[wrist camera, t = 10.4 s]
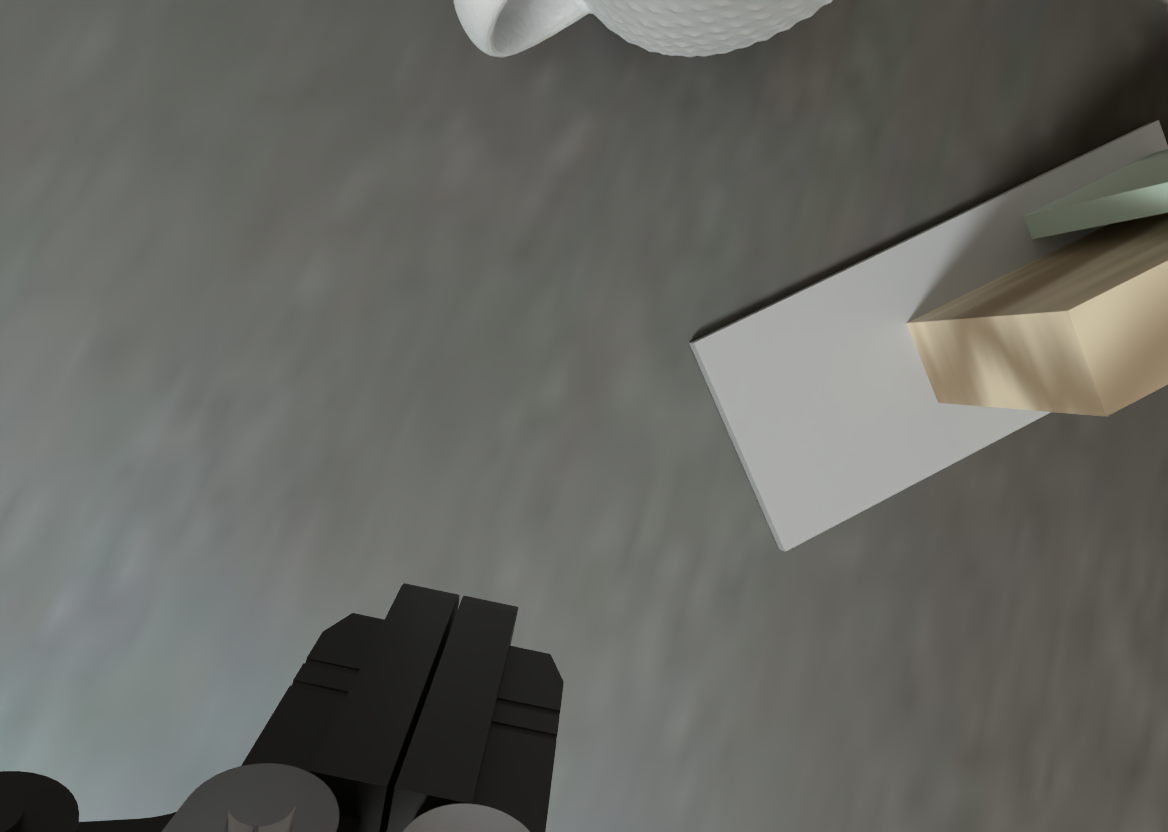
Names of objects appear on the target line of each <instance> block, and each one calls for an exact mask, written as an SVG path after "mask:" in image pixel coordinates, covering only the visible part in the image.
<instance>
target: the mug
mask: <svg viewBox="0 0 1168 832" xmlns="http://www.w3.org/2000/svg"><path fill="white" fill-rule="evenodd" d="M832 1H833V0H454V5H455V9H456V12H457V15H458V18H459V20H460V23H461V25H462V26H463V28H464V30H465V32H466V34H467V35H468V37H469V38H470V39H471V41H472V42H473V43H474V44H475V45H476V46H477V47H478V48H479V49H480V50H482V51H483V52H485V53H486V54H488V55H491V56H496V57H506V56H510V55H514V54H517V53H519V52H522V51H524V50H526V49H528V48H530V47H533V46H535V45H536V44H538V43H540V42H542V41H544V40H546V39H547V38H549V37H551V36H553V35H555V34H556V33H558V32H559V31H561V30H563V29H564V28H566V27H568V26H569V25H571V24H573V23H574V22H576V21H578V20H579V19H581V18H582V17H584V16H586V15H587V14H594V15H595V16H596V17H597V18H598V19H599V20H600V21H602V23H603V24H604V25H605V26H606V27H607V28H608V29H609V30H611V31H613V32H614V33H616V34H618V35H619V36H621V37H622V38H623V39H624V40H625V41H627V42H628V43H632V44H636V45H638V46H640V47H642V48H644V49H646V50H647V51H649V52H659V53H661V54H663V55H670V56H676V55H678V56H686V57H694V56H703V57H705V56H709V55H714V54H725V53H728V52H730V51H733V50H735V49H739V48H746V47H749V46H751V45H752V44H754V43H755V42H759V41H766V40H768V39H769V38H771V37H772V36H774V35H775V34H776V33H778V32H782V31H785V30H789V29H790V28H791V27H792V26H793V25H795V24H796V23H797V22H799V21H801V20H804V19H806V18H809V17H811V16H813V15H814V14H815V13H816V12H817V11H818V9H819V8H821V7H822V6H824V5H826V4H829V3H831V2H832Z"/></svg>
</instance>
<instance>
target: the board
mask: <svg viewBox="0 0 1168 832" xmlns="http://www.w3.org/2000/svg"><path fill="white" fill-rule="evenodd" d="M1166 149H1168V145H1167V142H1166V139H1165V136H1164V133H1163V131H1162V128H1161V125H1160V122H1159V120H1158V121H1154V122H1151V123H1148V124H1146V125H1144V126H1142V127H1140V128H1137V129H1135V130H1133V131H1131V132H1129V133H1127V134H1125V135H1123V136H1121V137H1119V138H1117V139H1115V140H1112V141H1110V142H1108V143H1106V144H1104V145H1102V146H1100V147H1098V148H1096V149H1094V150H1092V151H1089V152H1087V153H1085V154H1083V155H1081V156H1079V157H1077V158H1075V159H1073V160H1071V161H1069V162H1066V163H1064V164H1062V165H1060V166H1058V167H1056V168H1054V169H1052V170H1050V171H1048V172H1046V173H1044V174H1041V175H1039V176H1037V177H1035V178H1033V179H1031V180H1029V181H1027V182H1025V183H1023V184H1021V185H1018V186H1016V187H1014V188H1012V189H1010V190H1008V191H1006V192H1004V193H1002V194H1000V195H998V196H995V197H993V198H991V199H989V200H987V201H985V202H983V203H981V204H979V205H977V206H975V207H973V208H970V209H968V210H966V211H964V212H962V213H960V214H958V215H956V216H954V217H952V218H950V219H947V220H945V221H943V222H941V223H939V224H937V225H935V226H933V227H931V228H929V229H927V230H924V231H922V232H920V233H918V234H916V235H914V236H912V237H910V238H908V239H906V240H904V241H902V242H899V243H897V244H895V245H893V246H891V247H889V248H887V249H885V250H883V251H881V252H879V253H876V254H874V255H872V256H870V257H868V258H866V259H864V260H862V261H860V262H858V263H856V264H853V265H851V266H849V267H847V268H845V269H843V270H841V271H839V272H837V273H835V274H833V275H831V276H828V277H826V278H824V279H822V280H820V281H818V282H816V283H814V284H812V285H810V286H808V287H805V288H803V289H801V290H799V291H797V292H795V293H793V294H791V295H789V296H787V297H785V298H782V299H780V300H778V301H776V302H774V303H772V304H770V305H768V306H766V307H764V308H762V309H760V310H757V311H755V312H753V313H751V314H749V315H747V316H745V317H743V318H741V319H739V320H737V321H734V322H732V323H730V324H728V325H726V326H724V327H722V328H720V329H718V330H716V331H714V332H711V333H709V334H707V335H705V336H703V337H701V338H699V339H697V340H695V341H693V342H691V343H689V344H690V346H691V348H692V351H693V353H694V355H695V357H696V360H697V362H698V364H699V367H700V369H701V371H702V373H703V376H704V378H705V380H706V383H707V385H708V387H709V389H710V392H711V394H712V396H713V399H714V401H715V403H716V405H717V408H718V410H719V412H720V415H721V417H722V419H723V421H724V424H725V426H726V428H727V431H728V433H729V435H730V437H731V440H732V442H733V444H734V447H735V449H736V451H737V453H738V456H739V458H740V460H741V463H742V465H743V467H744V469H745V472H746V474H747V476H748V479H749V481H750V483H751V486H752V488H753V490H754V492H755V495H756V497H757V499H758V502H759V504H760V506H761V508H762V511H763V513H764V515H765V518H766V520H767V522H768V524H769V527H770V529H771V531H772V534H773V536H774V538H775V540H776V543H777V545H778V547H779V549H781V550H783V551H785V552H786V551H787V550H789V549H791V548H793V547H795V546H797V545H799V544H801V543H803V542H805V541H807V540H808V539H810V538H812V537H814V536H816V535H818V534H820V533H822V532H824V531H826V530H827V529H829V528H831V527H833V526H835V525H837V524H839V523H841V522H843V521H845V520H846V519H848V518H850V517H852V516H854V515H856V514H858V513H860V512H862V511H864V510H866V509H867V508H869V507H871V506H873V505H875V504H877V503H879V502H881V501H883V500H885V499H886V498H888V497H890V496H892V495H894V494H896V493H898V492H900V491H902V490H904V489H906V488H907V487H909V486H911V485H913V484H915V483H917V482H919V481H921V480H923V479H925V478H926V477H928V476H930V475H932V474H934V473H936V472H938V471H940V470H942V469H944V468H946V467H947V466H949V465H951V464H953V463H955V462H957V461H959V460H961V459H963V458H965V457H966V456H968V455H970V454H972V453H974V452H976V451H978V450H980V449H982V448H984V447H986V446H987V445H989V444H991V443H993V442H995V441H997V440H999V439H1001V438H1003V437H1005V436H1006V435H1008V434H1010V433H1012V432H1014V431H1016V430H1018V429H1020V428H1022V427H1024V426H1025V425H1027V424H1029V423H1031V422H1033V421H1035V420H1037V419H1039V418H1041V417H1043V416H1045V415H1046V414H1048V413H1050V412H1045V411H1033V410H1020V409H1008V408H996V407H983V406H971V405H958V404H946V403H938V401H937V399H936V396H935V394H934V391H933V389H932V386H931V384H930V381H929V378H928V376H927V373H926V371H925V368H924V366H923V363H922V361H921V358H920V356H919V353H918V351H917V348H916V346H915V343H914V341H913V338H912V336H911V333H910V331H909V328H908V325H907V323H908V322H910V321H912V320H914V319H916V318H918V317H920V316H922V315H924V314H926V313H928V312H930V311H932V310H934V309H936V308H938V307H940V306H943V305H945V304H947V303H949V302H951V301H953V300H955V299H957V298H959V297H961V296H963V295H965V294H967V293H969V292H971V291H973V290H975V289H977V288H979V287H981V286H983V285H985V284H987V283H990V282H992V281H994V280H996V279H998V278H1000V277H1002V276H1004V275H1006V274H1008V273H1010V272H1012V271H1014V270H1016V269H1018V268H1020V267H1022V266H1024V265H1026V264H1028V263H1030V262H1032V261H1034V260H1036V259H1039V258H1041V257H1043V256H1045V255H1047V254H1049V253H1051V252H1053V251H1055V250H1057V249H1059V248H1061V247H1063V246H1065V245H1067V244H1069V243H1071V242H1073V241H1075V240H1077V239H1079V238H1081V237H1083V236H1086V235H1088V234H1090V233H1092V232H1094V231H1096V230H1098V229H1100V228H1102V227H1104V226H1106V225H1102V226H1097V227H1092V228H1087V229H1082V230H1077V231H1072V232H1066V233H1061V234H1056V235H1051V236H1046V237H1041V238H1036V239H1032V238H1031V235H1030V233H1029V230H1028V227H1027V225H1026V222H1025V219H1024V217H1023V216H1025V215H1027V214H1029V213H1031V212H1033V211H1035V210H1037V209H1040V208H1042V207H1044V206H1046V205H1048V204H1050V203H1052V202H1054V201H1056V200H1058V199H1060V198H1062V197H1064V196H1066V195H1068V194H1070V193H1073V192H1075V191H1077V190H1079V189H1081V188H1083V187H1085V186H1087V185H1089V184H1091V183H1093V182H1095V181H1097V180H1099V179H1101V178H1103V177H1106V176H1108V175H1110V174H1112V173H1114V172H1116V171H1118V170H1120V169H1122V168H1124V167H1126V166H1128V165H1130V164H1132V163H1134V162H1136V161H1138V160H1141V159H1143V158H1145V157H1147V156H1149V155H1151V154H1153V153H1155V152H1159V151H1162V150H1166ZM1107 225H1108V224H1107Z"/></svg>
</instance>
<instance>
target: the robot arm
mask: <svg viewBox="0 0 1168 832" xmlns="http://www.w3.org/2000/svg"><path fill="white" fill-rule="evenodd" d="M458 605H459V595H457V594H453V593H448V592H443V591H438V590H434V589H429V588H424V587H419V586H415V585H410V584H405V583H404V584H403V585H402V586H401V588H400V590H399V592H398V594H397V596H396V598H395V600H394V602H393V604H392V606H391V608H390V610H389V612H388V614H387V616H386V618H385V620H383V619H379V618H374V617H369V616H364V615H359V614H355V613H352V614H350V615H349V616H347V617H346V618H344V619H342V620H341V621H339V622H338V623H336V624H335V625H333V626H331V627H330V628H328V629H327V630H325V631H323V632H322V634H321V636H320V637H319V639H318V641H317V642H316V644H315V645H314V647H313V649H312V650H311V652H310V654H309V655H308V657H307V660H306V663H305V664H303V665H302V667H301V668H300V670H299V672H298V673H297V675H296V677H295V678H294V680H293V684H292V686H290V687H289V688H288V690H287V691H286V693H285V695H284V696H283V698H282V700H281V701H280V703H279V705H278V706H277V708H276V710H275V711H274V713H273V715H272V716H271V718H270V719H269V721H268V723H267V724H266V726H265V728H264V729H263V731H262V733H261V734H260V736H259V738H258V739H257V741H256V742H255V744H254V746H253V747H252V749H251V751H250V752H249V754H248V756H247V757H246V759H245V761H244V762H243V764H242V765H241V766H240V767H236V768H233V769H229V770H227V771H225V772H222V773H220V774H217V775H216V776H214V777H212V778H210V779H209V780H207V781H205V782H204V783H203V784H202V785H200V786H199V787H198V788H197V789H196V790H195V791H194V792H193V793H192V794H191V795H190V796H189V797H188V798H187V800H186V801H185V802H184V803H183V805H182V806H181V807H180V809H179V810H178V811H177V812H175V813H172V814H167V815H163V816H158V817H152V818H142V819H128V820H110V821H92V822H79V810H78V805H77V802H76V800H75V798H74V796H73V794H72V793H71V792H70V791H69V790H68V789H67V788H66V787H65V786H64V785H62V784H61V783H59V782H58V781H56V780H53V779H51V778H49V777H47V776H43V775H39V774H35V773H29V772H20V771H3V772H0V832H545V829H546V821H547V813H548V805H549V797H550V789H551V780H552V772H553V764H554V756H555V748H556V737H557V732H558V723H559V713H560V707H561V699H562V691H563V683H564V682H563V680H562V678H561V676H560V673H559V671H558V669H557V667H556V665H555V663H554V661H553V659H552V657H551V655H550V654H547V653H542V652H537V651H533V650H528V649H523V648H518V647H513V646H510V645H511V640H512V635H513V631H514V626H515V621H516V616H517V611H518V607H516V606H511V605H506V604H501V603H497V602H492V601H487V600H482V599H477V598H473V597H468V596H463V598H462V600H461V603H460V606H459V609H458Z"/></svg>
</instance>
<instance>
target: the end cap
mask: <svg viewBox="0 0 1168 832" xmlns="http://www.w3.org/2000/svg"><path fill="white" fill-rule="evenodd" d="M1163 213H1168V149H1166V150H1162V151H1159V152H1155V153H1153V154H1151V155H1149V156H1147V157H1145V158H1143V159H1141V160H1138V161H1136V162H1134V163H1132V164H1130V165H1128V166H1126V167H1124V168H1122V169H1120V170H1118V171H1116V172H1114V173H1112V174H1110V175H1108V176H1106V177H1103V178H1101V179H1099V180H1097V181H1095V182H1093V183H1091V184H1089V185H1087V186H1085V187H1083V188H1081V189H1079V190H1077V191H1075V192H1073V193H1070V194H1068V195H1066V196H1064V197H1062V198H1060V199H1058V200H1056V201H1054V202H1052V203H1050V204H1048V205H1046V206H1044V207H1042V208H1040V209H1037V210H1035V211H1033V212H1031V213H1029V214H1027V215H1025V216H1023V217H1024V219H1025V222H1026V225H1027V227H1028V230H1029V233H1030V235H1031V238H1032V239H1036V238H1041V237H1046V236H1051V235H1056V234H1061V233H1066V232H1072V231H1077V230H1082V229H1087V228H1092V227H1097V226H1102V225H1107V224H1112V223H1117V222H1122V221H1128V220H1133V219H1138V218H1143V217H1148V216H1153V215H1158V214H1163Z"/></svg>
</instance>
